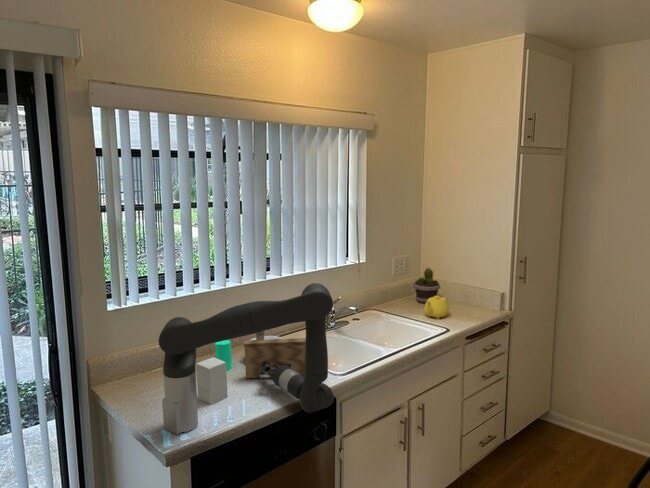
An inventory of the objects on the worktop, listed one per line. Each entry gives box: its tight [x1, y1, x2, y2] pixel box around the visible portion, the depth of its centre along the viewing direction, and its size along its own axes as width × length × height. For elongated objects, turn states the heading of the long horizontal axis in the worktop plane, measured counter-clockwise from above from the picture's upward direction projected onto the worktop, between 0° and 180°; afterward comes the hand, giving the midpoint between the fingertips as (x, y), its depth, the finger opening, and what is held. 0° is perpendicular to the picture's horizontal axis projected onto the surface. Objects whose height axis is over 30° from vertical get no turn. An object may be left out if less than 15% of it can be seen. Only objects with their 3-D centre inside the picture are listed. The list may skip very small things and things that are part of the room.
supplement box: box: [195, 357, 229, 405], centre depth 171 cm, size 7×7×13 cm
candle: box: [214, 339, 233, 372], centre depth 195 cm, size 6×6×12 cm
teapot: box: [423, 295, 450, 320], centre depth 259 cm, size 18×11×11 cm, turn 137°
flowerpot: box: [412, 265, 441, 305], centre depth 285 cm, size 14×15×20 cm
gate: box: [243, 337, 306, 379], centre depth 187 cm, size 23×4×13 cm, turn 96°
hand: (263, 363), depth 184 cm, fingers closed
